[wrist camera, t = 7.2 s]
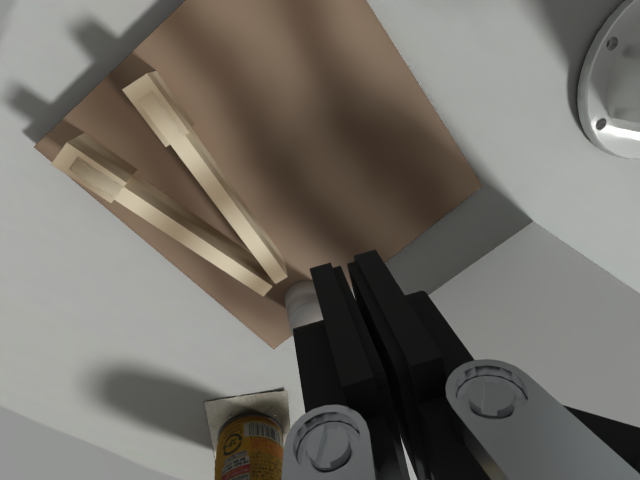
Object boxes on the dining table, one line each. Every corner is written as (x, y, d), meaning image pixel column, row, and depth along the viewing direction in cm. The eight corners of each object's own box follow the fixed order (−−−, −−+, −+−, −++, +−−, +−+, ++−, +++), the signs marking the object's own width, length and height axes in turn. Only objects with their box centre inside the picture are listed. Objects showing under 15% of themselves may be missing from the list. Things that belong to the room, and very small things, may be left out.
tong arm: (287, 255, 32) (291, 274, 29) (268, 266, 32) (271, 286, 29) (156, 70, 25) (146, 73, 22) (134, 85, 25) (121, 89, 22)
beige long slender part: (333, 294, 34) (343, 320, 30) (306, 321, 34) (313, 350, 31) (91, 122, 26) (70, 133, 22) (63, 162, 26) (38, 178, 23)
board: (295, -103, 24) (297, -109, 23) (476, 182, 33) (482, 186, 32) (40, 143, 26) (33, 146, 26) (272, 342, 36) (273, 349, 35)
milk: (533, 221, 35) (1103, 553, 12) (577, 307, 40) (1044, 661, 17) (415, 303, 37) (723, 745, 13) (472, 377, 42) (769, 794, 18)
